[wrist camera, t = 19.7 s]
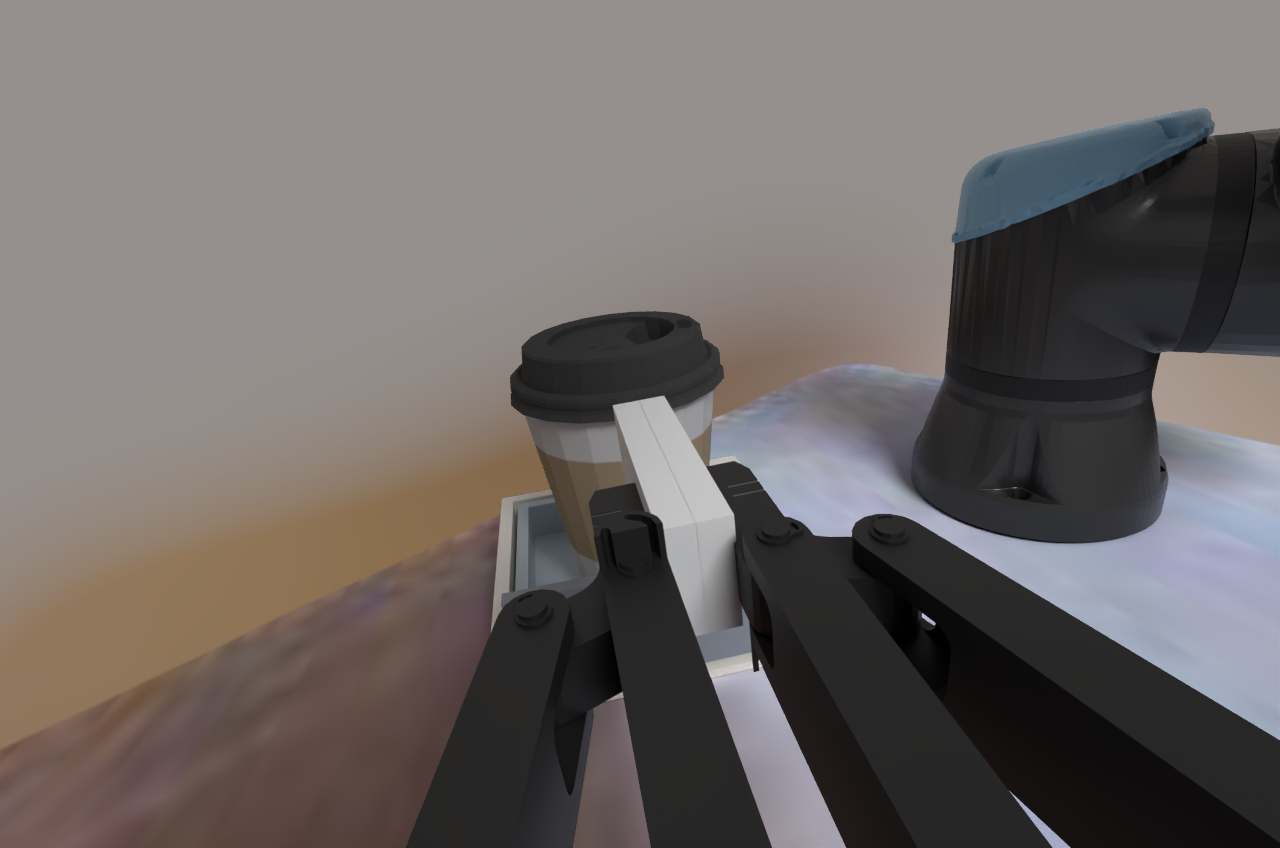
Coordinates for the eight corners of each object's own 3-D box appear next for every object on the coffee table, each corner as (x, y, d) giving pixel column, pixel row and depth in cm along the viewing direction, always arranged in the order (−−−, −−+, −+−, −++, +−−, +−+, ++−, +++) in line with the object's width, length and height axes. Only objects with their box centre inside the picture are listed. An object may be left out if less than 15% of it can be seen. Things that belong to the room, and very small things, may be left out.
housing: (737, 502, 47) (734, 455, 45) (832, 650, 32) (833, 588, 30) (513, 545, 45) (502, 498, 43) (505, 724, 30) (488, 661, 29)
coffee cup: (757, 623, 32) (742, 348, 26) (542, 652, 32) (480, 382, 26) (720, 512, 43) (703, 297, 37) (557, 533, 43) (515, 322, 37)
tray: (727, 504, 45) (721, 430, 43) (809, 639, 32) (807, 542, 29) (526, 543, 43) (509, 467, 41) (526, 702, 30) (500, 604, 28)
